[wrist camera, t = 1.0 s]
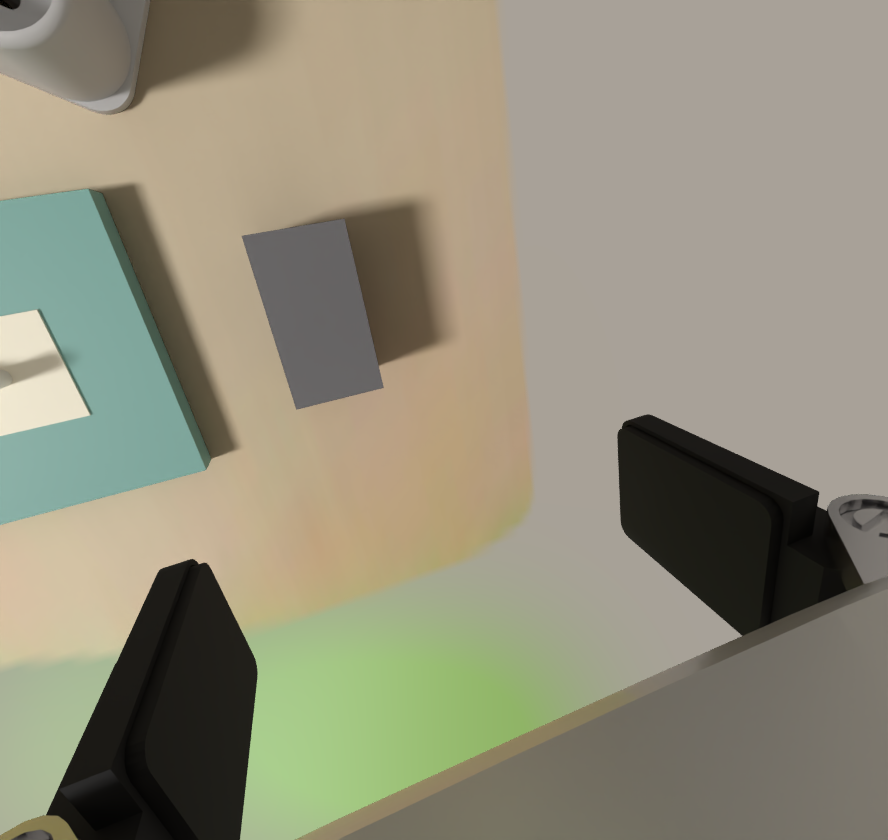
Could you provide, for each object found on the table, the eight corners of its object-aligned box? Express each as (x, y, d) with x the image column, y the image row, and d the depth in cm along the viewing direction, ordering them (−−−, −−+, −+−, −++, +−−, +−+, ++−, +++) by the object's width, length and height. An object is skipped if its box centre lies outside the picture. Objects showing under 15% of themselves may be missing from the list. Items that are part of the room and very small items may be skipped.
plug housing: (297, 386, 26) (296, 409, 22) (252, 240, 23) (241, 235, 19) (371, 368, 27) (383, 387, 23) (337, 225, 24) (344, 218, 20)
